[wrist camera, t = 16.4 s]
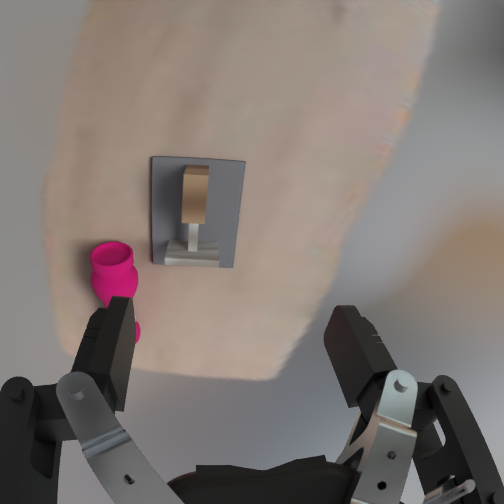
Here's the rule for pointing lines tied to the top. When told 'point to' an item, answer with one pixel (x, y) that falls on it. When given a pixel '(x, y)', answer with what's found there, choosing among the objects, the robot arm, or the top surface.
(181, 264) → the wood and metal piece
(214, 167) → the mat
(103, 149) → the top surface
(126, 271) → the pepper mill
